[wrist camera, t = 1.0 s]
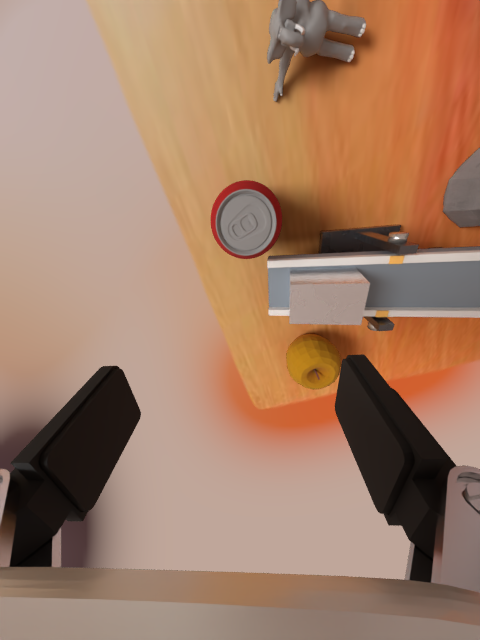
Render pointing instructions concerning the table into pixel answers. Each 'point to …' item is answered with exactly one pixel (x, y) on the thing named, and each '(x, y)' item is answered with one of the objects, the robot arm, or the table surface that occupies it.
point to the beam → (395, 280)
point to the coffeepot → (464, 193)
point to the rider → (327, 296)
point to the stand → (364, 242)
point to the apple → (313, 361)
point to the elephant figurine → (308, 34)
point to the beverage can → (246, 219)
